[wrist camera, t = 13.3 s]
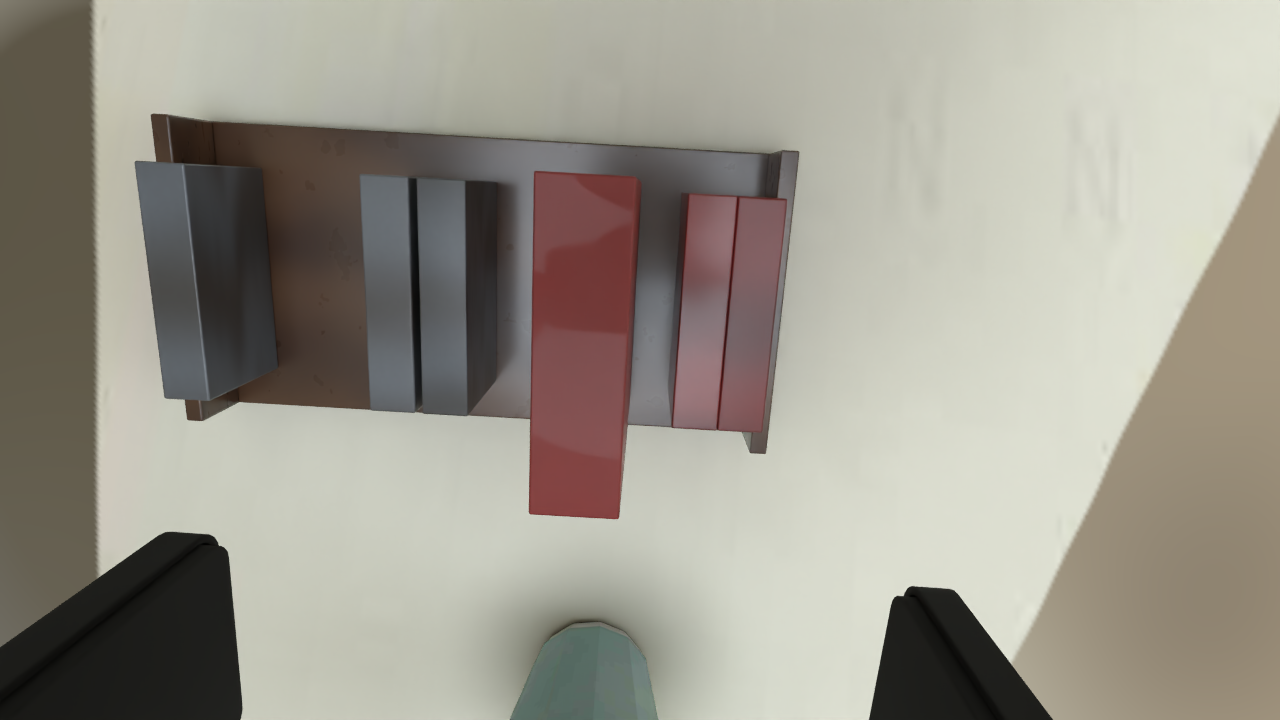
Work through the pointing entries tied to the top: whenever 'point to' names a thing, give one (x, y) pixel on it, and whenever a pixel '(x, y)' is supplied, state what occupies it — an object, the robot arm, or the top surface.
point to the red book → (581, 340)
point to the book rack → (446, 271)
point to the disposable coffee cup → (588, 678)
